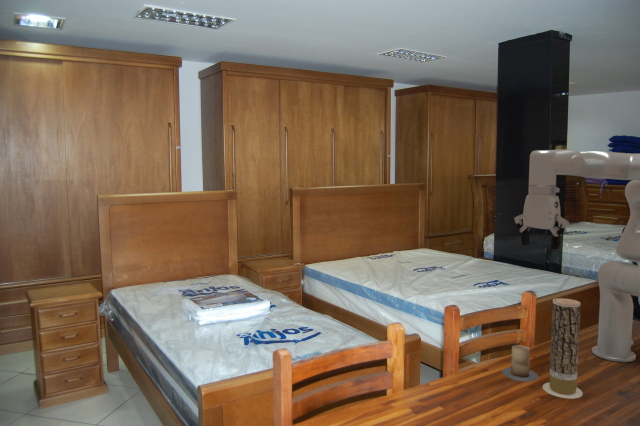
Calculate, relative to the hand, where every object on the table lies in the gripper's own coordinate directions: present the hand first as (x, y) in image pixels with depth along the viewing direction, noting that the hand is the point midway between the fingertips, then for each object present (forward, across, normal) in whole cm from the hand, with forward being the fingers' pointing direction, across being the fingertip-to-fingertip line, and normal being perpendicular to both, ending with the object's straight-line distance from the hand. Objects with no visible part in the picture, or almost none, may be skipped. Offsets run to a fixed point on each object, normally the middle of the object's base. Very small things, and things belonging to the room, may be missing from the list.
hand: (539, 246), depth 153 cm
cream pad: (+38, -15, +11) cm, 42 cm away
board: (+38, -9, +11) cm, 41 cm away
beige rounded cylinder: (+37, -2, +11) cm, 39 cm away
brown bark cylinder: (+37, -15, +11) cm, 42 cm away
